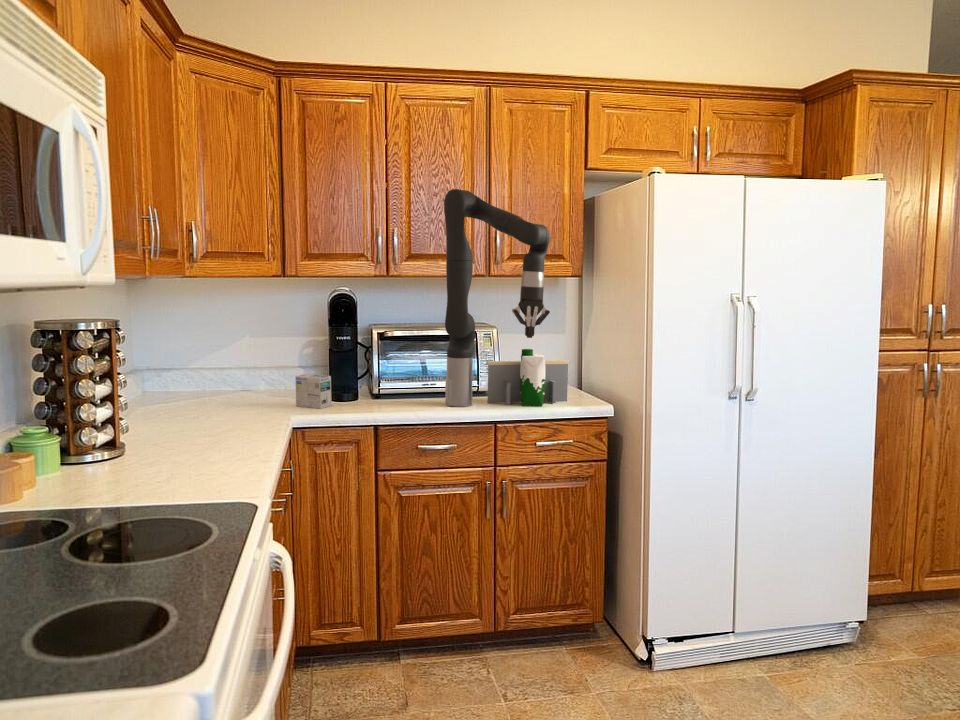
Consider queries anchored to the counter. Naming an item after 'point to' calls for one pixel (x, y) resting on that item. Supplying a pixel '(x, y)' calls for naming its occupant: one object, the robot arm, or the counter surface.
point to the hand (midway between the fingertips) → (529, 337)
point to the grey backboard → (508, 381)
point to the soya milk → (532, 378)
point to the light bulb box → (313, 391)
